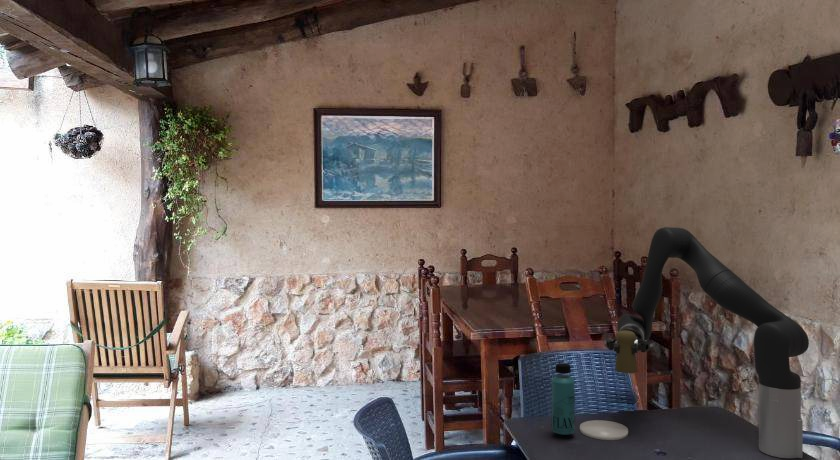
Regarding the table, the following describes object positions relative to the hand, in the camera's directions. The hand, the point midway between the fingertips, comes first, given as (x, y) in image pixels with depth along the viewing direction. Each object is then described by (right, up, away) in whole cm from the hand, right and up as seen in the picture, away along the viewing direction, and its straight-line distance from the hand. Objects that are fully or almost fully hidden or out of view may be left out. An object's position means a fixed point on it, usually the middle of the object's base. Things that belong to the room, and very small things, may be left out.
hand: (625, 350), depth 167 cm
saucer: (-5, -24, +4) cm, 24 cm away
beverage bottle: (-17, -24, +1) cm, 29 cm away
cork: (+1, -6, +2) cm, 6 cm away
